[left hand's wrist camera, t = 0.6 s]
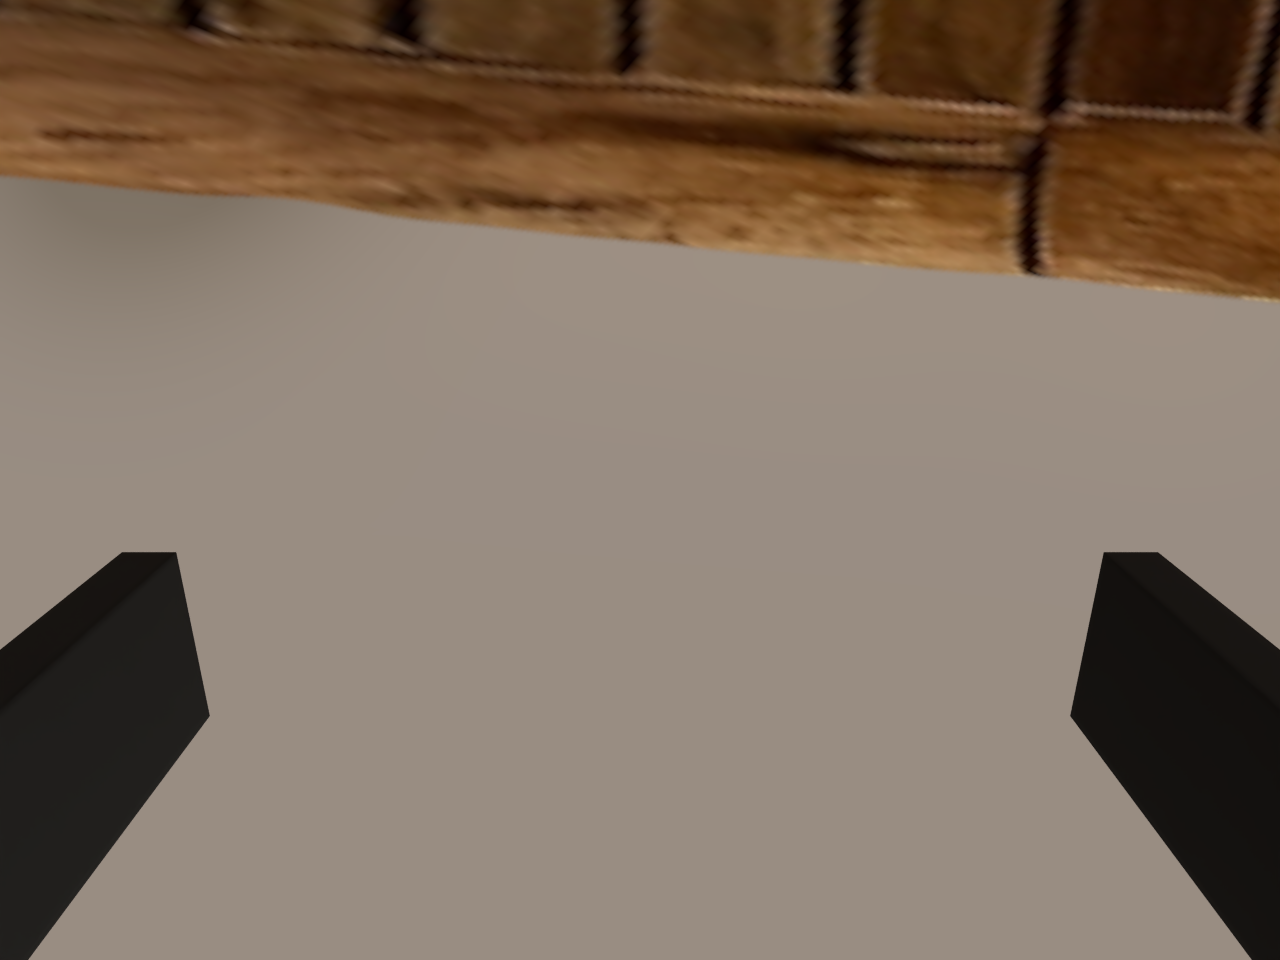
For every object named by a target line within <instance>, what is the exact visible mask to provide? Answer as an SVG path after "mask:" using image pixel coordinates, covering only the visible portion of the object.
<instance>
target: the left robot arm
mask: <svg viewBox="0 0 1280 960" xmlns="http://www.w3.org/2000/svg"><path fill="white" fill-rule="evenodd" d="M209 716H210V715H209V710H208V705H207V700H206V696H205V691H204V686H203V681H202V676H201V671H200V666H199V662H198V656H197V652H196V647H195V642H194V637H193V632H192V627H191V622H190V617H189V613H188V608H187V603H186V598H185V593H184V588H183V583H182V578H181V573H180V569H179V564H178V559H177V554H176V552H122V553H121V554H119V555H118V556H117V557H116V558H114V559H113V560H112V561H111V562H109V563H108V564H107V565H106V566H104V567H103V568H102V569H101V570H99V571H98V572H97V573H96V574H94V575H93V576H92V577H91V578H89V579H88V580H87V581H86V582H84V583H83V584H82V585H81V586H79V587H78V588H77V589H76V590H74V591H73V592H72V593H71V594H69V595H68V596H67V597H66V598H64V599H63V600H62V601H61V602H59V603H58V604H57V605H56V606H54V607H53V608H52V609H51V610H49V611H48V612H47V613H46V614H44V615H43V616H42V617H41V618H39V619H38V620H37V621H36V622H34V623H33V624H32V625H31V626H29V627H28V628H27V629H26V630H24V631H23V632H22V633H21V634H19V635H18V636H17V637H16V638H14V639H13V640H12V641H11V642H9V643H8V644H7V645H6V646H4V647H3V648H2V649H1V650H0V960H28V959H29V958H30V957H31V955H32V954H33V952H34V951H35V950H36V948H37V947H38V946H39V944H40V943H41V942H42V940H43V939H44V938H45V936H46V935H47V934H48V932H49V931H50V930H51V928H52V927H53V926H54V924H55V923H56V922H57V920H58V919H59V918H60V916H61V915H62V913H63V912H64V911H65V909H66V908H67V907H68V906H69V904H70V903H71V901H72V900H73V899H74V897H75V896H76V895H77V893H78V892H79V891H80V889H81V888H82V887H83V885H84V884H85V883H86V881H87V880H88V879H89V877H90V876H91V875H92V873H93V872H94V871H95V869H96V868H97V867H98V865H99V864H100V863H101V861H102V860H103V858H104V857H105V856H106V854H107V853H108V852H109V850H110V849H111V848H112V846H113V845H114V844H115V842H116V841H117V840H118V838H119V837H120V836H121V834H122V833H123V832H124V830H125V829H126V828H127V826H128V825H129V824H130V822H131V821H132V820H133V818H134V817H135V815H136V814H137V813H138V812H139V810H140V809H141V807H142V806H143V805H144V803H145V802H146V801H147V799H148V798H149V797H150V795H151V794H152V793H153V791H154V790H155V789H156V787H157V786H158V785H159V783H160V782H161V781H162V779H163V778H164V777H165V775H166V774H167V772H168V771H169V770H170V769H171V767H172V766H173V764H174V763H175V762H176V761H177V759H178V758H179V756H180V755H181V754H182V752H183V751H184V750H185V748H186V747H187V746H188V744H189V743H190V742H191V740H192V739H193V738H194V736H195V735H196V734H197V732H198V731H199V730H200V728H201V727H202V726H203V724H204V723H205V722H206V720H207V719H208V718H209ZM1070 716H1071V718H1072V719H1073V720H1074V722H1075V723H1076V724H1077V726H1078V727H1079V728H1080V730H1081V731H1082V732H1083V734H1084V735H1085V736H1086V738H1087V739H1088V740H1089V742H1090V743H1091V744H1092V746H1093V747H1094V748H1095V750H1096V751H1097V752H1098V754H1099V755H1100V756H1101V758H1102V759H1103V760H1104V762H1105V763H1106V764H1107V766H1108V767H1109V769H1110V770H1111V771H1112V772H1113V774H1114V775H1115V777H1116V778H1117V779H1118V781H1119V782H1120V783H1121V785H1122V786H1123V787H1124V789H1125V790H1126V791H1127V793H1128V794H1129V795H1130V797H1131V798H1132V799H1133V801H1134V802H1135V803H1136V805H1137V806H1138V807H1139V809H1140V810H1141V812H1142V813H1143V814H1144V815H1145V817H1146V818H1147V819H1148V821H1149V822H1150V824H1151V825H1152V826H1153V828H1154V829H1155V830H1156V832H1157V833H1158V834H1159V836H1160V837H1161V838H1162V840H1163V841H1164V842H1165V844H1166V845H1167V846H1168V848H1169V849H1170V850H1171V852H1172V853H1173V855H1174V856H1175V857H1176V859H1177V860H1178V861H1179V863H1180V864H1181V865H1182V867H1183V868H1184V869H1185V871H1186V872H1187V873H1188V875H1189V876H1190V877H1191V879H1192V880H1193V881H1194V883H1195V884H1196V885H1197V887H1198V888H1199V889H1200V891H1201V892H1202V893H1203V895H1204V896H1205V897H1206V899H1207V900H1208V901H1209V903H1210V904H1211V906H1212V907H1213V908H1214V910H1215V911H1216V912H1217V914H1218V915H1219V916H1220V918H1221V919H1222V920H1223V922H1224V923H1225V924H1226V926H1227V927H1228V928H1229V930H1230V931H1231V932H1232V934H1233V935H1234V936H1235V938H1236V939H1237V940H1238V942H1239V943H1240V944H1241V946H1242V947H1243V948H1244V950H1245V951H1246V953H1247V954H1248V955H1249V957H1250V958H1251V959H1252V960H1280V650H1279V649H1278V648H1277V647H1276V646H1274V645H1273V644H1272V643H1271V642H1269V641H1268V640H1267V639H1266V638H1264V637H1263V636H1262V635H1261V634H1259V633H1258V632H1257V631H1256V630H1254V629H1253V628H1252V627H1251V626H1249V625H1248V624H1247V623H1246V622H1244V621H1243V620H1242V619H1241V618H1239V617H1238V616H1237V615H1236V614H1234V613H1233V612H1232V611H1231V610H1229V609H1228V608H1227V607H1226V606H1224V605H1223V604H1222V603H1221V602H1219V601H1218V600H1217V599H1216V598H1214V597H1213V596H1212V595H1211V594H1209V593H1208V592H1207V591H1206V590H1204V589H1203V588H1202V587H1201V586H1199V585H1198V584H1197V583H1196V582H1194V581H1193V580H1192V579H1191V578H1189V577H1188V576H1187V575H1186V574H1184V573H1183V572H1182V571H1181V570H1179V569H1178V568H1177V567H1176V566H1174V565H1173V564H1172V563H1171V562H1169V561H1168V560H1167V559H1166V558H1164V557H1163V556H1162V555H1161V554H1159V553H1158V552H1104V554H1103V559H1102V564H1101V569H1100V574H1099V578H1098V584H1097V588H1096V593H1095V598H1094V603H1093V608H1092V613H1091V617H1090V622H1089V627H1088V632H1087V637H1086V642H1085V647H1084V652H1083V656H1082V661H1081V666H1080V671H1079V676H1078V681H1077V686H1076V691H1075V695H1074V700H1073V705H1072V710H1071V715H1070Z"/></svg>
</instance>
